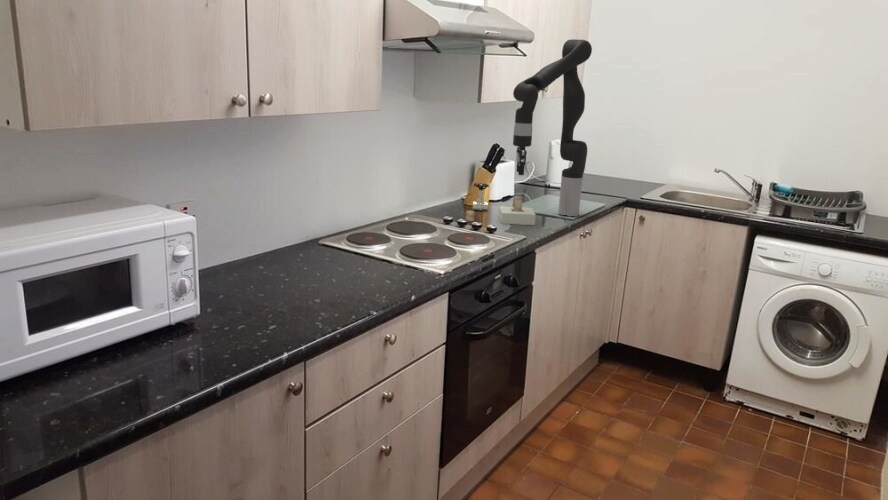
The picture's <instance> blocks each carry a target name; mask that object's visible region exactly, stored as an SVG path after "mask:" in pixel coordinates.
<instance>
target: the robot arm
mask: <svg viewBox="0 0 888 500" xmlns="http://www.w3.org/2000/svg"><path fill="white" fill-rule="evenodd" d="M591 44H592V43H590V42H589V41H588V40H586V39H574V38H573V39H568V40H566V41H565V42H564V44H563V46H562V50H561V51H562V52H561V58H560V59H557V60H555V61H553V62H551V63H549V64H546V65H545V66H544V67H543V68H541V69H540V70H539V71H537V72H536V73H535V74H534V75H532V76H530V77H528V78H526V79H524V80H522V81H521V82H519V83H518V84H517V85H516V86H515V87H514V89H513V92H512V93H513V98H514V99H515V100H516V101H517V102H522V105H521V107H519V108H517V109H516V110H515V117H514V118H515V119H514V127H513V135H512V136H513V139H512V145H513V146H515V147H516V150H515V151H516V153H515V154H516V156H515V157H516V159H515V160H516V172H517V173H518V176H524V175H525V166H526V164H527V154H528V153H527V152H528V151H527V150H526V148H528V147H531V146H532V143H533V142H532V141H533V138H532V137H533V119H534V118H533V117H534V111H535V109H536V105H537V102H538V99H539V91H543V90H545V89H546V88H547V87H549V86H550V85H551V84H552V83H554V82H555V81H556V80H557V79H558V78H560V77H562V76H563V93H562V96H563V97H562V128H561V136H560V145H559V146H560V147H559V156H560V158H561V159H562V160H563V161H567V162H569V161H570V162H572V164H571V166H570V167H568V168H564V169H562V170H561V177H560V178H561V179H560V180H561V181H560V189H559V199H558V200H559V201H558V209H557V210H558V212H557V214H558V213H559V214H561V215H560V216H562V215H567V216H566V217H571V216H574V217H578V215H580V207H581V197H582V187H583V177H584V172H585V170H586V163H587V156H588V145H587V143H586V142H585V141H582V140H577V139H575V140H574V130H575V128H576V127H577V126H576V125H577V124H578V122H579V121H580V119H581V117H582V116H583V114H584V111H585V107H586V106H585V103H586V94H585V90H584V88H583V85H582V83H581V81H580V78H579V74H578V66H580V65H581V64H583V63H585V62H586V61H587V60H589V59H590V57H591V55H592V51H593V49H592V48H593V47H592V45H591ZM559 214H558V215H559Z"/></svg>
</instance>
